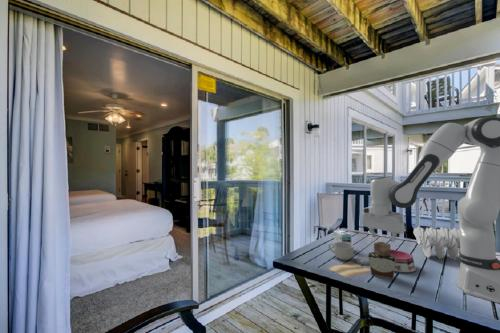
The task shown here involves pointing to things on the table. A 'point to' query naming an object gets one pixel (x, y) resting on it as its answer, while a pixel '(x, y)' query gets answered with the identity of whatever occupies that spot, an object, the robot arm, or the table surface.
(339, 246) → the teacup
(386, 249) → the walnut block
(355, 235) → the table surface
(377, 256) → the food container
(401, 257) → the dog bowl
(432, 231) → the spiral staircase
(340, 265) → the oak board
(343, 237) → the light bulb box
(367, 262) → the grey rounded dome
